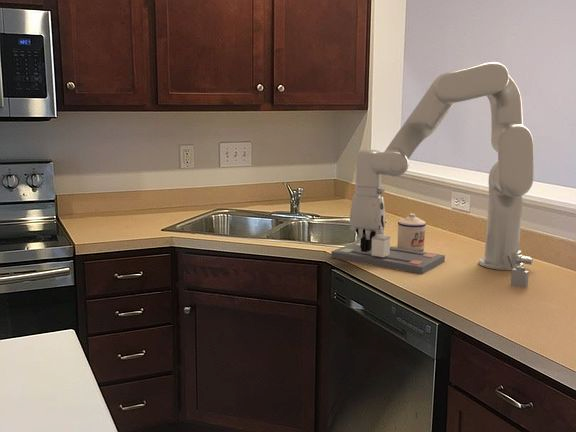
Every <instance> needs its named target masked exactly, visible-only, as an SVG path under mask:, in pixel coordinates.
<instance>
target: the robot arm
mask: <svg viewBox="0 0 576 432" xmlns="http://www.w3.org/2000/svg"><path fill="white" fill-rule="evenodd" d="M509 73H510V72H509V70H508V69H507V67H506V66H505V65H504V64H502V63H500V62H497V61H492V62H484V63H481V64H479V65H476V66H473V67H469V68H465V69H460V70H455V71H448V72H444V73H440V74H439V75H438V76H437V77H436V78H435V80H433V82H432V83H431V85H430V86H429V88H428V89H427V91H426V92H425V94H424V95H423V96H422V98H421V99H420V101H419V102H418V103H417V105H416V106H415V108H414V109H413V110H412V111H411V114H410V115H409V116H408V117H407V119H406V120H405V122H404V123H403V125H402V127H400V129H399V131H398V132H397V133H396V134H395V135H394V137H393V139H392V140H391V142H389V144H388V146H387V147H386V148H385V150H384V151H381V152H380V151H379V150H376V149H362V150H361V149H360V150H358V151H357V153H356V157H355V158H356V159H355V185H354V186H355V188H354V190H355V193H354V195H353V196H352V200H351V203H350V204H351V205H350V212H349V225H350V227H349V229H350V231H353V232H355V233H356V234H357V235H358V238H359V239H360V241H359V242H360V248H361V252H368V251H370V250H371V247H372V237H374V236H375V235H379V234H383V228H384V229H385V226H386V210H385V209H386V208H385V200H384V197H383V195H384V194H385V189H383V188H382V176H387V177H396V178H397V177H400V176H403V175H404V174H405V173H406V172H407V171H408V170H409V166H410V165H409V164H410V163H409V159H410V158H411V157H412V155H413V153H414V152H415V151H416V149H418V147H419V146H420V144H422V143H423V142H424V140H425V139H427V138H428V137H430V136H431V135H432V134H434V132H436V130H437V129H438V127H439V125H441V123H442V122H443V120H444V119H445V117H446V115H447V114H448V113H449V111H450V110H451V109H452V108H453V107H454V104H457V103H460V102H461V103H462V102H466V101H470V100H473V99H478V98H482V97H487V99H488V101H489V104H490V106H489V107H490V116H491V120H490V121H491V135H490V137H491V139H490V141H491V145H492V149H493V150H494V151H495V152H496V153H497V162H495V164H493V166H491V169H490V171H489V174H488V203H487V205H488V206H487V221H486V234H485V246H484V256H483V257H480V258H479V259H478V264H479V265H480V266H481V267H485V268H488V269H492V270H498V271H499V270H500V271H507V269H506V267H505V264H504V261H503V259H502V256H504V255H507V254H509V256H510V259H511V261H512V264H513V267H514V269H516V267H517V266H520V267H524V264H526V265H531V266H532V265H533V262H534V258H531V257H532V256H525V255H523V254H522V250H520V238H521V225H522V215H523V196H524V195H525V194H527V193H528V192H530V189H531V188H532V186H533V182H534V176H535V175H534V173H535V171H534V168H535V166H534V164H535V160H534V158H535V157H534V156H535V155H534V150H535V149H534V148H535V146H534V139H533V135H532V133H531V131H530V130H529V129H528V128H527V127H526V126H524V121H523V119H524V118H523V102H522V96H521V92H520V90H519V87H518V85H517V84H516V82H515V81H514V79H513V78H512V77H511V76H510V74H509ZM382 194H383V195H382ZM381 195H382V196H381Z"/></svg>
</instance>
